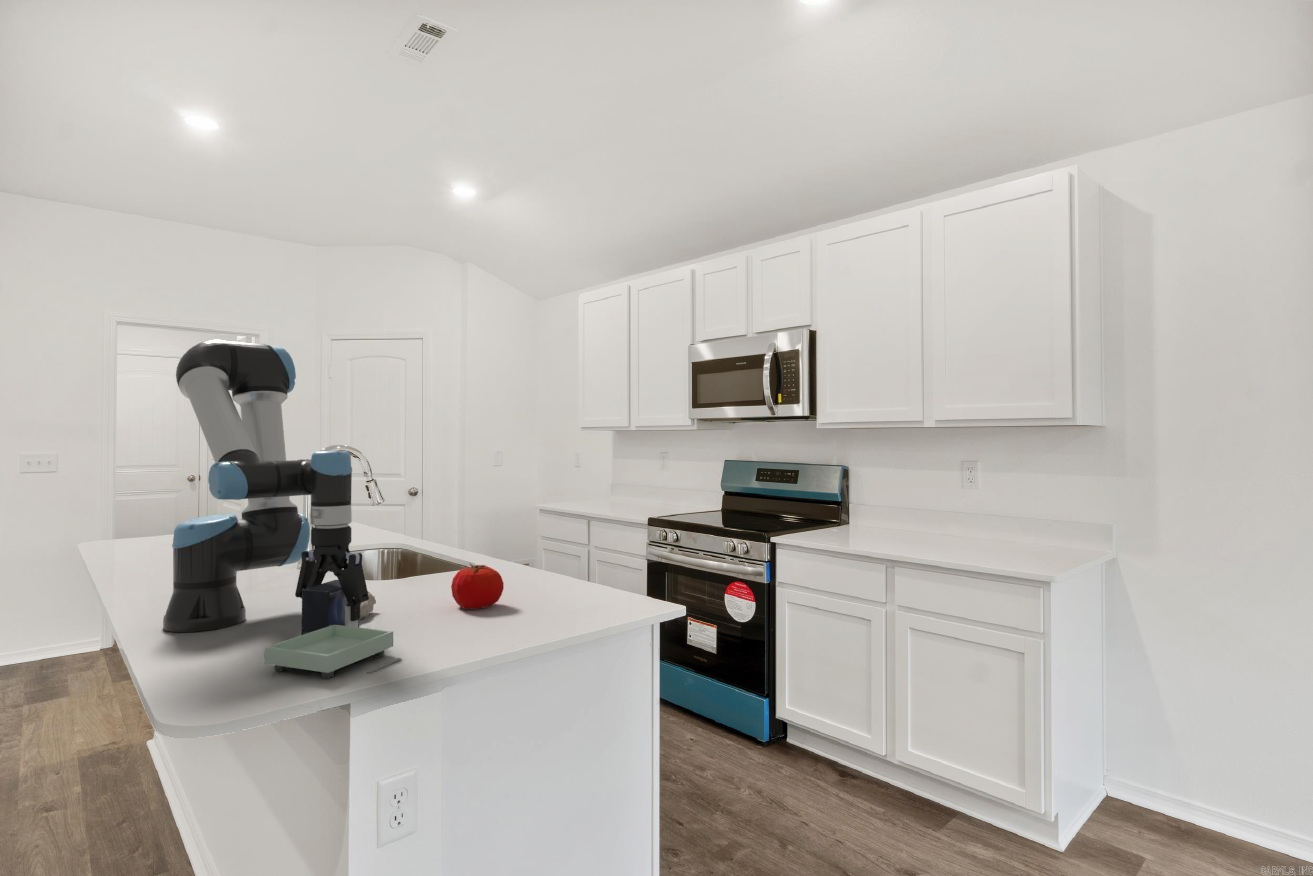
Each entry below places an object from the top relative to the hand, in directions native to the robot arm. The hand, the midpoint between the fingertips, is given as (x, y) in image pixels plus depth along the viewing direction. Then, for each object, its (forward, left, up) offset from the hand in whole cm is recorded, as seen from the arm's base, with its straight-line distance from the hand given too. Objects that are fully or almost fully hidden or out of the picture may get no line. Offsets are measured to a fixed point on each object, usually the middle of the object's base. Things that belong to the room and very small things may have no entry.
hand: (331, 634), depth 141 cm
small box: (0, 0, -1) cm, 1 cm away
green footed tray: (+14, -14, 0) cm, 20 cm away
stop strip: (+24, -12, 0) cm, 27 cm away
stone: (-6, +12, -1) cm, 14 cm away
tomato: (+14, +30, 0) cm, 33 cm away
